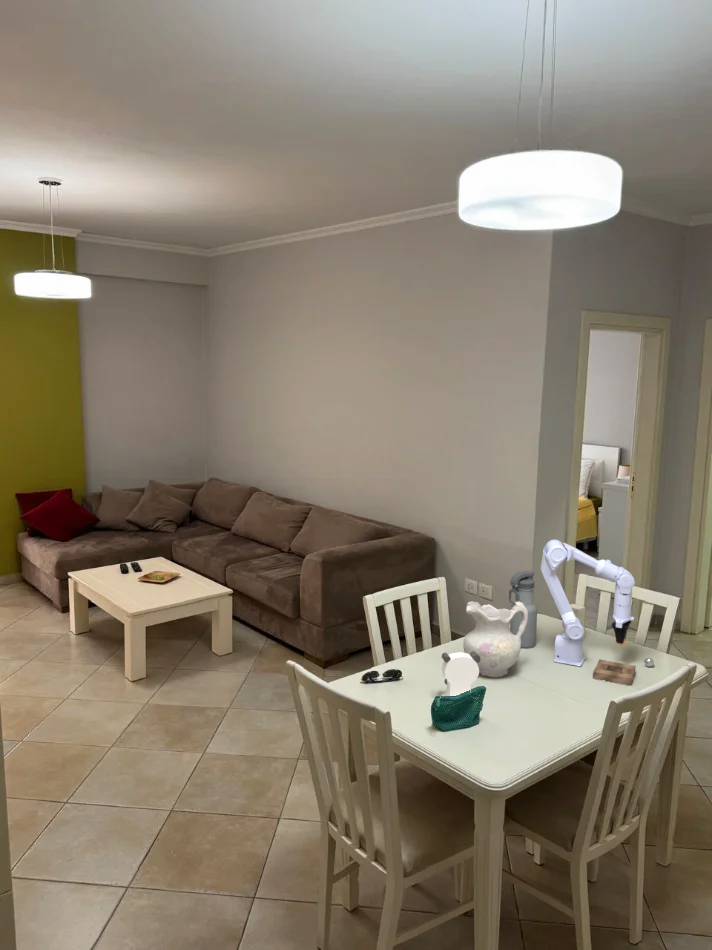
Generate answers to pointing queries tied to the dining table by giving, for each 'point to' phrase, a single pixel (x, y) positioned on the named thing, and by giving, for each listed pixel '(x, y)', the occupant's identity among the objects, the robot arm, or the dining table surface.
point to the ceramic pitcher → (494, 637)
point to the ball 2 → (649, 662)
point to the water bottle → (525, 594)
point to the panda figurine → (460, 671)
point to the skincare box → (579, 614)
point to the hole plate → (614, 672)
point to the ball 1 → (620, 643)
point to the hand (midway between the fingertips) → (620, 641)
